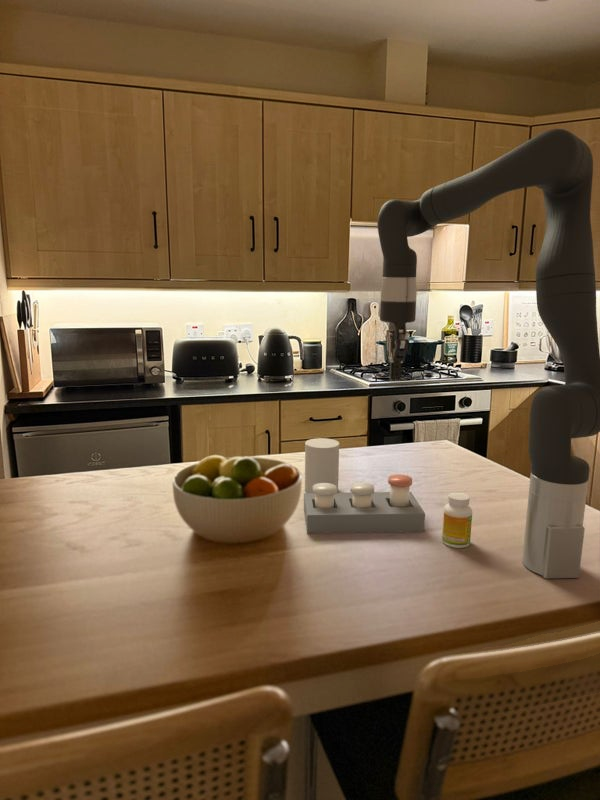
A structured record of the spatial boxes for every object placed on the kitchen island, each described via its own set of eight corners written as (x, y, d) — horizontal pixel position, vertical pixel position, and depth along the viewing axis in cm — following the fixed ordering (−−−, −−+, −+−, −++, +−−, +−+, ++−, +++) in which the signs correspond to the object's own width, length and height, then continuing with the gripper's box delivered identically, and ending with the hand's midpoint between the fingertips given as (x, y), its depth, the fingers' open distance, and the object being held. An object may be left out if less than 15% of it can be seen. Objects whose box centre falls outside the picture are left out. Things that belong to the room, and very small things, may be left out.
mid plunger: (375, 522, 120) (376, 490, 119) (351, 522, 120) (352, 491, 119) (371, 512, 125) (372, 482, 124) (348, 513, 125) (349, 482, 123)
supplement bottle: (471, 550, 110) (474, 502, 108) (442, 547, 111) (445, 500, 109) (468, 537, 115) (472, 492, 113) (441, 535, 116) (444, 489, 114)
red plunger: (413, 514, 120) (414, 482, 119) (389, 514, 120) (390, 482, 119) (407, 504, 125) (409, 474, 124) (385, 505, 125) (386, 474, 123)
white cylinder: (338, 485, 144) (339, 438, 141) (337, 497, 136) (338, 448, 133) (306, 483, 144) (306, 437, 142) (303, 495, 136) (303, 447, 134)
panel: (424, 531, 117) (425, 513, 117) (307, 533, 116) (307, 515, 115) (410, 508, 129) (411, 491, 128) (303, 510, 128) (303, 493, 127)
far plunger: (337, 522, 120) (337, 491, 118) (313, 523, 120) (313, 491, 118) (334, 513, 125) (335, 482, 123) (311, 513, 125) (311, 482, 123)
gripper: (423, 300, 116) (419, 385, 120) (408, 298, 129) (405, 374, 132) (387, 300, 115) (383, 385, 119) (375, 298, 128) (372, 374, 132)
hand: (395, 379), depth 126 cm, fingers closed
